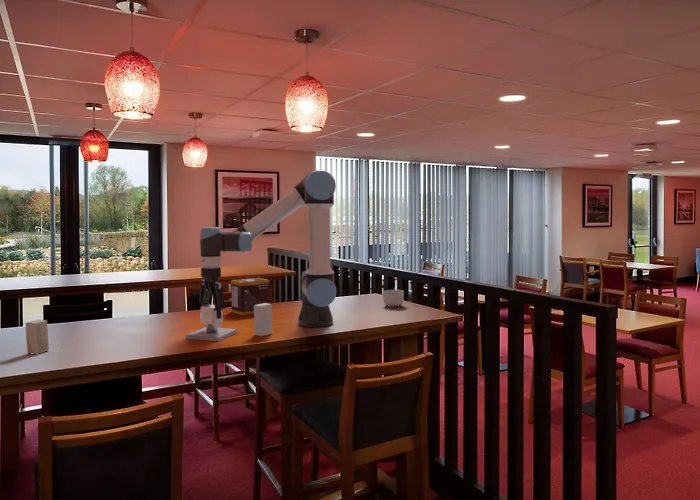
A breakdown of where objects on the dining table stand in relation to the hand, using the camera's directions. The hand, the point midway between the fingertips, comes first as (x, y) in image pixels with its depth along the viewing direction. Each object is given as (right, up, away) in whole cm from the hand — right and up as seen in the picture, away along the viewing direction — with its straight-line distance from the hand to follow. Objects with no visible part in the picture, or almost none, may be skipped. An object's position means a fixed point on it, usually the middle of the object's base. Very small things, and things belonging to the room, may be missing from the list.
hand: (212, 324), depth 203 cm
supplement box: (+6, -1, +48) cm, 48 cm away
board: (0, -4, 0) cm, 4 cm away
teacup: (+77, 0, +64) cm, 100 cm away
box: (-53, -6, -24) cm, 59 cm away
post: (0, -3, 0) cm, 3 cm away
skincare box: (+20, -5, +3) cm, 20 cm away
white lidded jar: (0, +1, 0) cm, 1 cm away
